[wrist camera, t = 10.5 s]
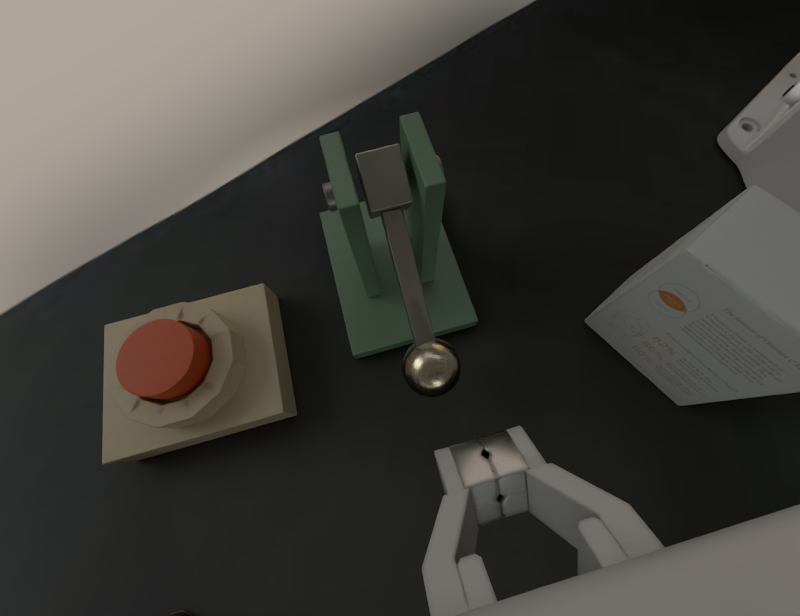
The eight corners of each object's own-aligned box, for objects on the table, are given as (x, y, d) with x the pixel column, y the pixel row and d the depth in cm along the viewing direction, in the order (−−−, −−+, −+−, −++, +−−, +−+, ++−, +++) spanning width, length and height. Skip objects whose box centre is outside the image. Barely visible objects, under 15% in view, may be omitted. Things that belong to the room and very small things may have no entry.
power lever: (458, 376, 21) (474, 396, 18) (407, 391, 21) (414, 414, 18) (403, 157, 19) (410, 136, 16) (347, 171, 19) (343, 153, 16)
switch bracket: (475, 325, 26) (522, 242, 14) (355, 359, 25) (308, 299, 14) (427, 194, 30) (434, 50, 19) (322, 221, 29) (266, 89, 18)
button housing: (277, 296, 27) (252, 271, 23) (297, 415, 24) (272, 410, 20) (133, 335, 26) (80, 316, 22) (135, 461, 23) (73, 467, 19)
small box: (726, 354, 24) (942, 298, 14) (676, 409, 23) (872, 389, 13) (629, 274, 26) (758, 178, 17) (579, 321, 25) (685, 247, 15)
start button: (207, 319, 22) (191, 310, 21) (214, 387, 21) (197, 383, 19) (138, 338, 22) (115, 330, 20) (139, 408, 20) (115, 406, 19)
